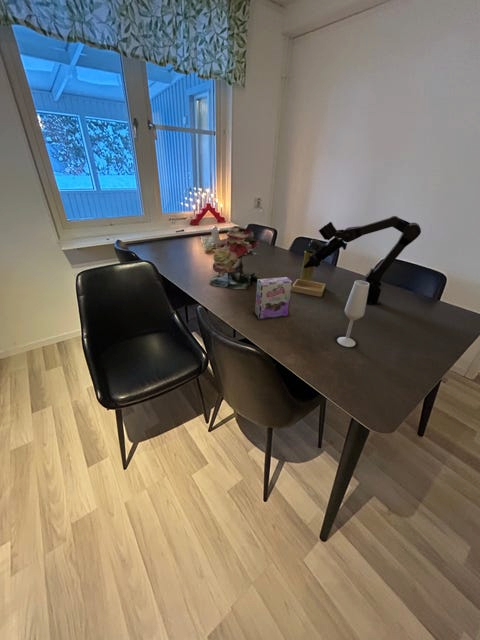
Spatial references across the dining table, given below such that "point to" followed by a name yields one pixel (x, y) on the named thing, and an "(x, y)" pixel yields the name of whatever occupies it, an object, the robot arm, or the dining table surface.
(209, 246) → the chinaware
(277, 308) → the candy box
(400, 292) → the dining table surface
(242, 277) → the rose bouquet
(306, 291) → the tray
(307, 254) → the vase
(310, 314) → the dining table surface
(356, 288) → the champagne flute
